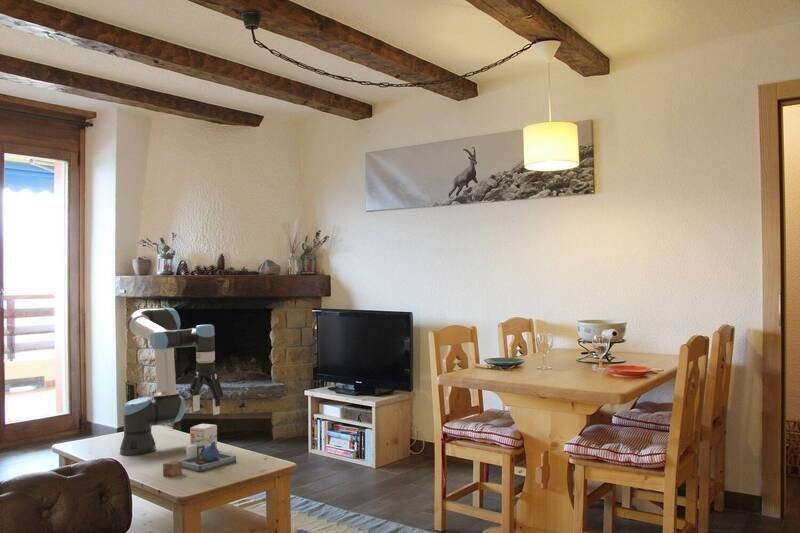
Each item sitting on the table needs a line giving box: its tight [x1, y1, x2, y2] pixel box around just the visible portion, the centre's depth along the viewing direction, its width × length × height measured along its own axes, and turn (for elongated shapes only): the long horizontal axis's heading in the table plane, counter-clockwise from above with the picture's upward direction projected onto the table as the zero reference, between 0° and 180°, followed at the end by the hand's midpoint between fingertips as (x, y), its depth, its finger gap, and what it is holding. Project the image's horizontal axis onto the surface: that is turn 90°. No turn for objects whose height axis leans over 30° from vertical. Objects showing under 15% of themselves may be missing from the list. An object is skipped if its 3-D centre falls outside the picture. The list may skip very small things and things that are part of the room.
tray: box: [178, 452, 237, 473], centre depth 274 cm, size 15×18×2 cm
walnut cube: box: [162, 459, 183, 478], centre depth 260 cm, size 5×5×5 cm
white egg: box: [186, 444, 197, 459], centre depth 282 cm, size 4×4×6 cm
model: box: [195, 441, 221, 465], centre depth 274 cm, size 12×9×9 cm
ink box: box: [189, 423, 218, 454], centre depth 295 cm, size 9×8×12 cm
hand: (206, 412), depth 274 cm, fingers open, 13 cm apart
